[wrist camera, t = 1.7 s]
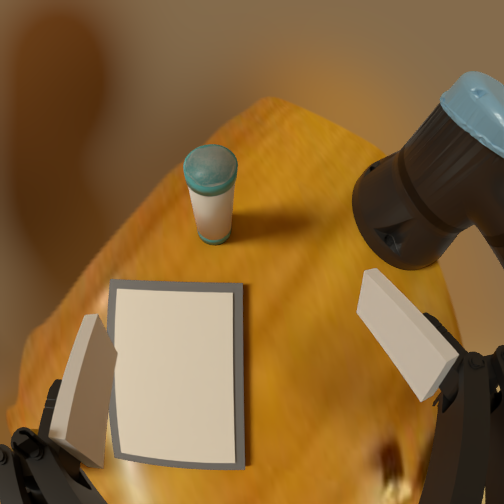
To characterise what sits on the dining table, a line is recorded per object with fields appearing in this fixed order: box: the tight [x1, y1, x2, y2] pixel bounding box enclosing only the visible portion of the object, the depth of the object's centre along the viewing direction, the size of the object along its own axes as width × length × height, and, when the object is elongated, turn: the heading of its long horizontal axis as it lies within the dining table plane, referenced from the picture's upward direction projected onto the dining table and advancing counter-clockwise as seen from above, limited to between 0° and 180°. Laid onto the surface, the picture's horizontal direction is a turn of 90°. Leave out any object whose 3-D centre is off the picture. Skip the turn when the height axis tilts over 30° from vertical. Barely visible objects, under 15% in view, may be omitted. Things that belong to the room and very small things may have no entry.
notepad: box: [107, 279, 245, 470], centre depth 24 cm, size 14×20×1 cm
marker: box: [183, 144, 238, 245], centre depth 24 cm, size 4×4×12 cm
